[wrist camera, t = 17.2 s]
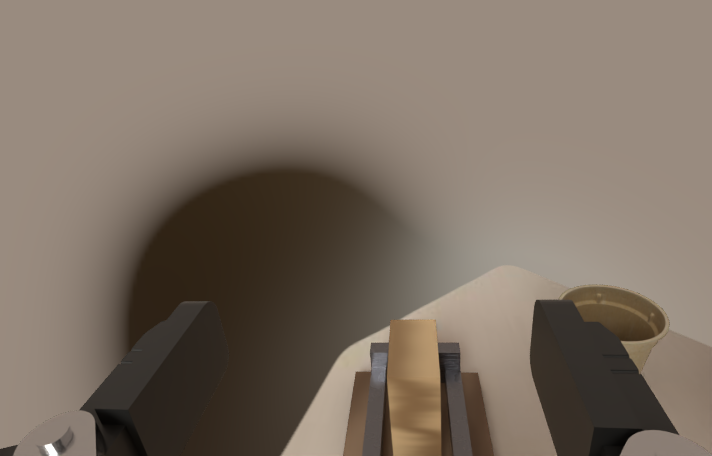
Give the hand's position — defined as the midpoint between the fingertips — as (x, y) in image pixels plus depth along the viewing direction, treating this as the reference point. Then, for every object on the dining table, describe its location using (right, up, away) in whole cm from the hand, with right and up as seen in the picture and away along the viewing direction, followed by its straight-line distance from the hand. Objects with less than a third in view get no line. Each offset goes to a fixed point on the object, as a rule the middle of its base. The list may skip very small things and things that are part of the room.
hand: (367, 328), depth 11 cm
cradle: (+5, -17, +31) cm, 36 cm away
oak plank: (+5, -16, +29) cm, 34 cm away
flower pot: (+25, -13, +35) cm, 45 cm away
